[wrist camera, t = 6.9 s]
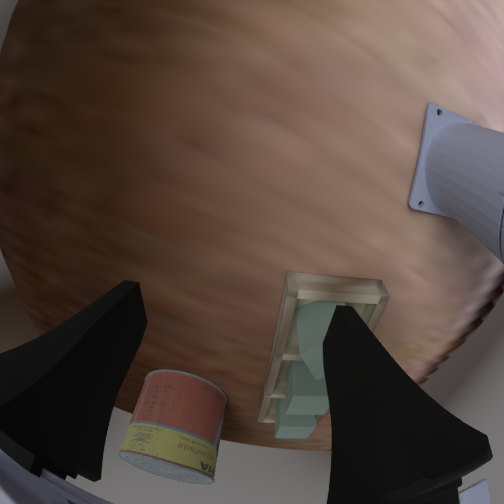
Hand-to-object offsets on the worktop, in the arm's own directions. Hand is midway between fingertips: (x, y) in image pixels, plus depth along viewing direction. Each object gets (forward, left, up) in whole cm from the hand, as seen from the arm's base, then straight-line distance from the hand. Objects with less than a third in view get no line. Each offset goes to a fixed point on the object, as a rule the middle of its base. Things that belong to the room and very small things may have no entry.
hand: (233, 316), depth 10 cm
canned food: (+7, +26, -11) cm, 29 cm away
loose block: (-7, +9, -10) cm, 15 cm away
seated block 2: (-7, +23, -10) cm, 26 cm away
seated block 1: (-7, +16, -10) cm, 20 cm away
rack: (-7, +16, -10) cm, 20 cm away
